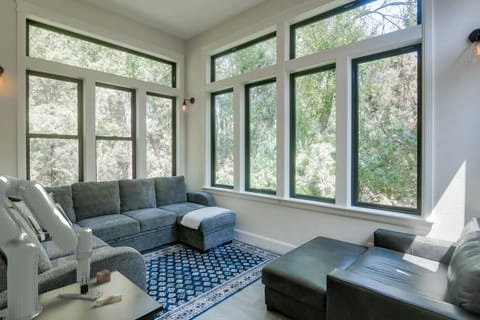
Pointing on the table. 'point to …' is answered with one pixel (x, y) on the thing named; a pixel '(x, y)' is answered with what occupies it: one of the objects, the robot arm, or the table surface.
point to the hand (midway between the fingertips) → (84, 292)
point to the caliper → (83, 296)
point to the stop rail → (109, 299)
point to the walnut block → (103, 277)
